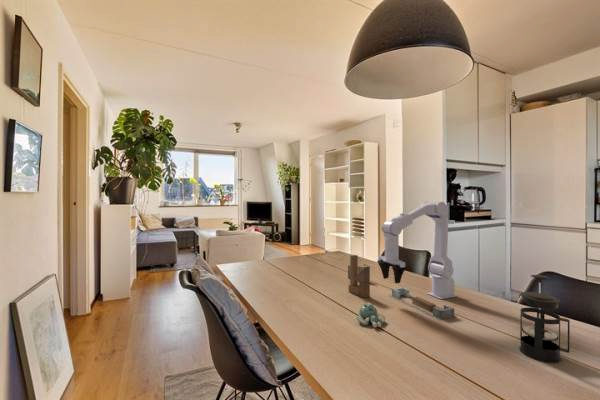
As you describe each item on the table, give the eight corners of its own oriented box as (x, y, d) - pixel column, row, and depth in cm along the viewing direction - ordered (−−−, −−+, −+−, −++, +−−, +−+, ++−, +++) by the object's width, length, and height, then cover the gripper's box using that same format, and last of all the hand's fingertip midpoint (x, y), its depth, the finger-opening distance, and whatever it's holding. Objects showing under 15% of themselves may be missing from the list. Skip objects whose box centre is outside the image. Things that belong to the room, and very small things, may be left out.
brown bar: (417, 303, 126) (417, 296, 126) (435, 311, 117) (435, 304, 117) (412, 304, 125) (412, 297, 125) (430, 312, 116) (430, 305, 116)
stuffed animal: (364, 316, 99) (352, 298, 111) (362, 335, 101) (351, 314, 112) (393, 314, 101) (378, 296, 113) (391, 332, 102) (377, 313, 114)
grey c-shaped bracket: (445, 313, 115) (445, 305, 115) (454, 317, 111) (454, 308, 111) (432, 315, 112) (432, 307, 112) (441, 319, 109) (441, 311, 109)
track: (403, 293, 138) (403, 292, 138) (456, 316, 112) (456, 315, 112) (388, 295, 135) (388, 294, 135) (439, 320, 108) (439, 318, 108)
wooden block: (364, 298, 132) (364, 258, 132) (348, 291, 141) (348, 254, 141) (370, 296, 134) (370, 257, 134) (353, 290, 143) (353, 254, 143)
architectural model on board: (368, 281, 159) (368, 264, 159) (365, 283, 157) (365, 265, 157) (350, 277, 167) (350, 261, 167) (348, 279, 165) (348, 262, 165)
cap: (403, 294, 137) (403, 287, 137) (409, 296, 133) (409, 289, 133) (391, 295, 135) (391, 289, 135) (397, 298, 131) (397, 291, 131)
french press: (514, 353, 85) (514, 275, 85) (518, 342, 92) (518, 269, 92) (569, 370, 77) (569, 283, 77) (569, 355, 84) (569, 276, 84)
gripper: (373, 246, 130) (373, 277, 130) (395, 252, 116) (395, 286, 117) (386, 245, 133) (386, 275, 133) (409, 251, 119) (409, 284, 119)
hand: (391, 280), depth 125 cm, fingers open, 7 cm apart
